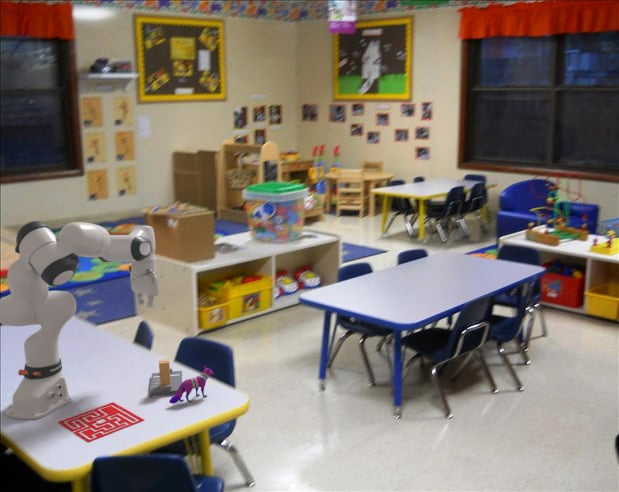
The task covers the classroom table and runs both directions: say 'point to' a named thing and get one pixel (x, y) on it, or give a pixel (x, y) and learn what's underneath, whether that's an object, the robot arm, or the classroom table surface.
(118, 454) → the classroom table surface
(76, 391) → the classroom table surface
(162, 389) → the fader board
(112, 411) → the maze puzzle
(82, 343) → the classroom table surface
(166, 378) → the fader cap
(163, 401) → the classroom table surface
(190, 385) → the purple fox figurine
